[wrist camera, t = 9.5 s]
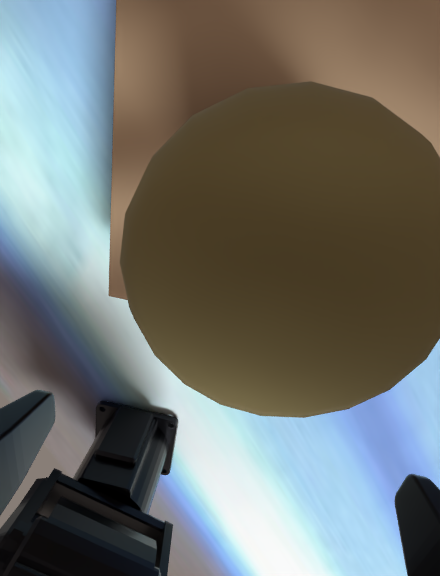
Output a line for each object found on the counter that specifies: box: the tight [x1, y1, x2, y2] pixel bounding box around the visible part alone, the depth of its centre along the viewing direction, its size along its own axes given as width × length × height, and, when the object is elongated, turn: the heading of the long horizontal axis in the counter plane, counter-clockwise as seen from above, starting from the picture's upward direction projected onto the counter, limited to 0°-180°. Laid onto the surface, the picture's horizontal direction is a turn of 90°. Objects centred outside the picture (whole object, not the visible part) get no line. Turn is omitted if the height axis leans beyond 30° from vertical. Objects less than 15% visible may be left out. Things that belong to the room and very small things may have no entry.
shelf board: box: [109, 0, 440, 300], centre depth 14 cm, size 14×14×1 cm
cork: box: [120, 81, 440, 418], centre depth 9 cm, size 6×6×11 cm
